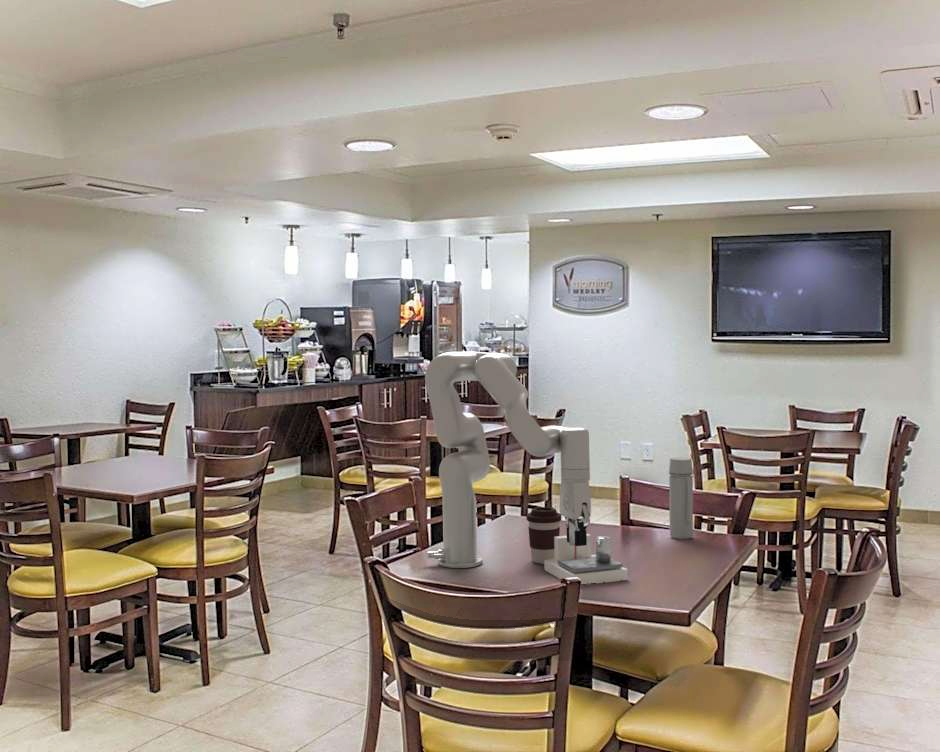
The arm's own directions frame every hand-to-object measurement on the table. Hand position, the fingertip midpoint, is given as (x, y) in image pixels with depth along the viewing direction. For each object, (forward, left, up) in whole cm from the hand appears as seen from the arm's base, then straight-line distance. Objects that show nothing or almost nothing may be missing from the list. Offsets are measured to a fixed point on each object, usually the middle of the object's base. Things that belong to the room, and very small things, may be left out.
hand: (576, 543), depth 240 cm
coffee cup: (0, +21, -10) cm, 23 cm away
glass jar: (+8, 0, -5) cm, 9 cm away
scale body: (+4, +3, -10) cm, 11 cm away
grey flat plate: (+4, 0, -6) cm, 8 cm away
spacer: (0, 0, 0) cm, 0 cm away
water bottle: (+52, +31, -10) cm, 61 cm away
